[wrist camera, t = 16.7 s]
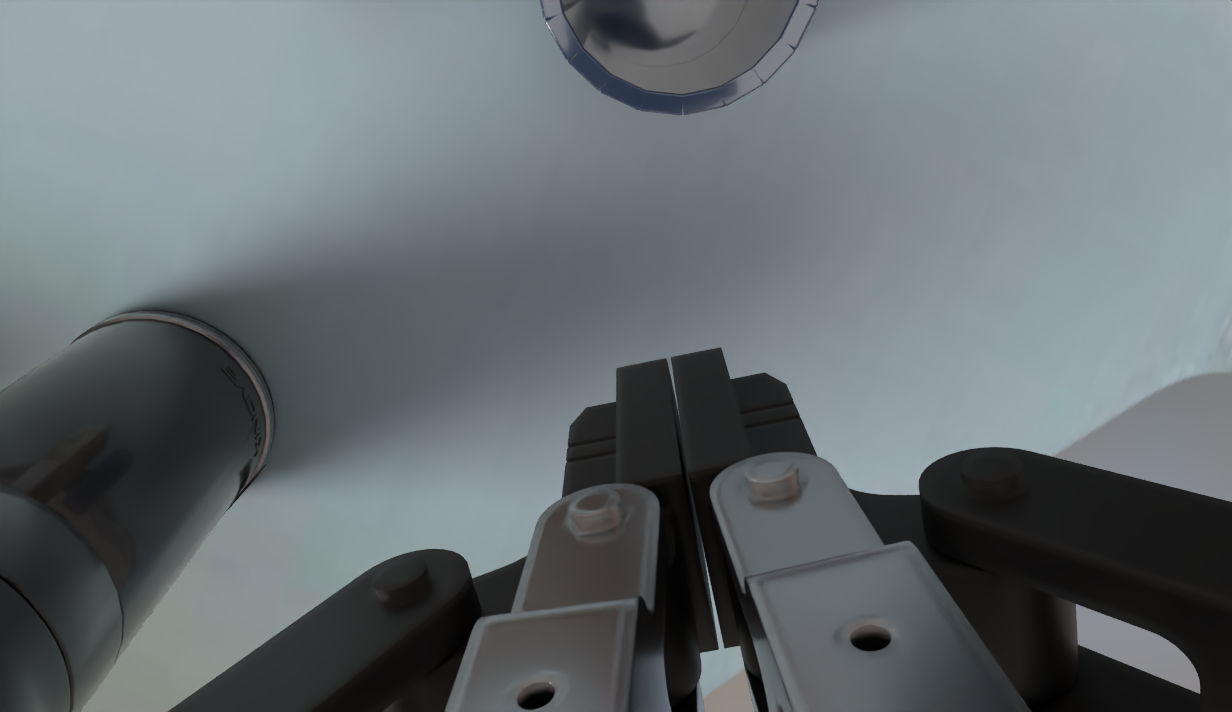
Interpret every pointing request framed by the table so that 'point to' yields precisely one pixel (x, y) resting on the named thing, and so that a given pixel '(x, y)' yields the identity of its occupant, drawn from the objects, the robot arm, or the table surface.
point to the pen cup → (677, 47)
